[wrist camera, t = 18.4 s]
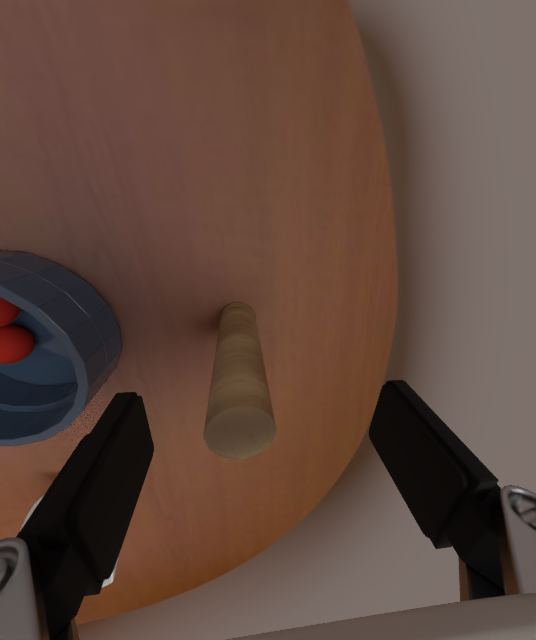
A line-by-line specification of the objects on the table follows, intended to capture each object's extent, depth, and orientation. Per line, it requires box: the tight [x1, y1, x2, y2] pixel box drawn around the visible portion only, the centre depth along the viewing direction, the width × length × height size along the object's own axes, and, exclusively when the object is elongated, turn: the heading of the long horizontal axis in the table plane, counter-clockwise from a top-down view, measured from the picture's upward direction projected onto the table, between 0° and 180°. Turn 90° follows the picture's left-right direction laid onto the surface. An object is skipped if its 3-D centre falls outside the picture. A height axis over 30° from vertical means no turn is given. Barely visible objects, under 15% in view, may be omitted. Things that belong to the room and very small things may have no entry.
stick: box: [204, 302, 276, 459], centre depth 17 cm, size 3×3×13 cm
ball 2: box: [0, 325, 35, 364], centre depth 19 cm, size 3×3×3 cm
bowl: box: [0, 250, 122, 446], centre depth 18 cm, size 13×13×6 cm
